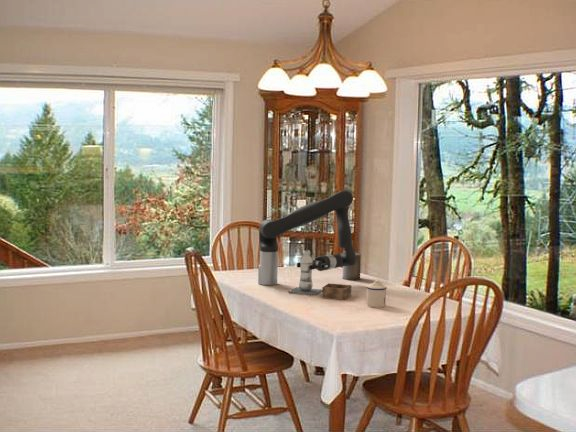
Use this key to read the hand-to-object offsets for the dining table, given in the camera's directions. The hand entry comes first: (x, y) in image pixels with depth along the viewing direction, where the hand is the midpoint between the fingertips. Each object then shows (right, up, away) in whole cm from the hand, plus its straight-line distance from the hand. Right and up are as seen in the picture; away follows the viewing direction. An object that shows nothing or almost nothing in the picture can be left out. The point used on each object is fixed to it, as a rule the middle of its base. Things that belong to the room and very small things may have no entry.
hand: (303, 266), depth 350 cm
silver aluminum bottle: (+1, -12, +3) cm, 13 cm away
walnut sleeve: (+16, -14, -7) cm, 22 cm away
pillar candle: (+27, -10, +39) cm, 48 cm away
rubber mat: (+1, -13, +3) cm, 13 cm away
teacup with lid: (+32, -16, -23) cm, 43 cm away
